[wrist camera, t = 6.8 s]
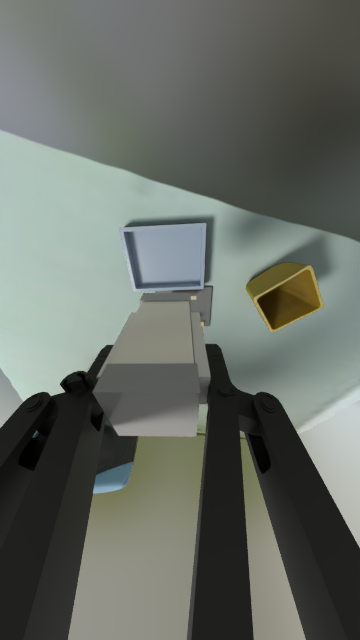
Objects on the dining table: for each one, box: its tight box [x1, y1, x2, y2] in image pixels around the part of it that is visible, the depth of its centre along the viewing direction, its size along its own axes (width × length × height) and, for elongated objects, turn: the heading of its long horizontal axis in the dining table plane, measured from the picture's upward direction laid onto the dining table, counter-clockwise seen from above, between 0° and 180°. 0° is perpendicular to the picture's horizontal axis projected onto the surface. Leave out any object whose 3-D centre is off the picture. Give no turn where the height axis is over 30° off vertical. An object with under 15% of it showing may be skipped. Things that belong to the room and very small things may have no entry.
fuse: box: [92, 293, 200, 436], centre depth 12 cm, size 4×4×10 cm
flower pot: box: [246, 263, 324, 332], centre depth 28 cm, size 9×9×9 cm
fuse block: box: [155, 286, 212, 327], centre depth 34 cm, size 12×10×4 cm
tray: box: [119, 223, 206, 292], centre depth 28 cm, size 14×11×2 cm
